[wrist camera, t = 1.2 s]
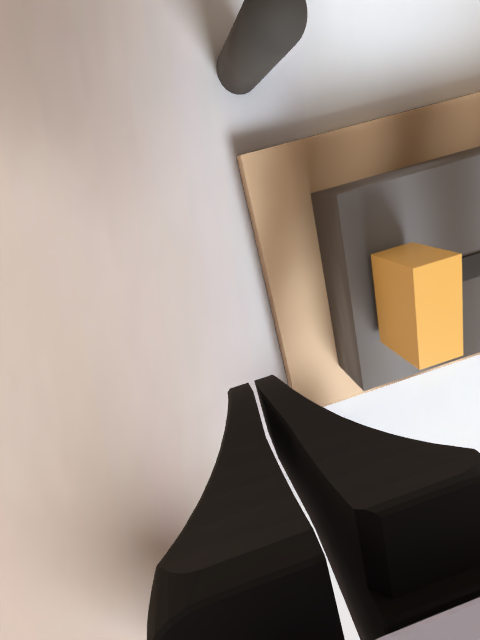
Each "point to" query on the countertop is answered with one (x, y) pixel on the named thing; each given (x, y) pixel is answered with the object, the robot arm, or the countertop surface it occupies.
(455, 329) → the orange cuboid
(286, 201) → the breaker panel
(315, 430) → the robot arm
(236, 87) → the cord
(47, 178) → the countertop surface
